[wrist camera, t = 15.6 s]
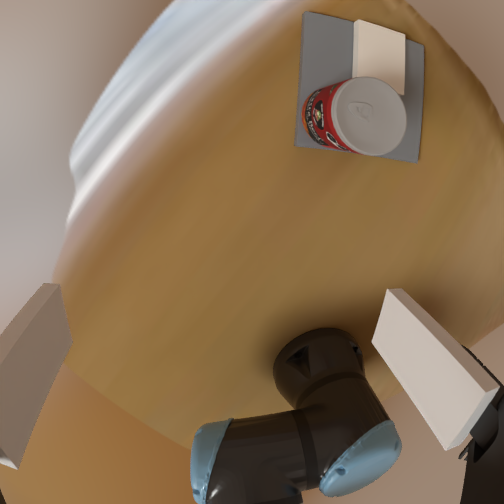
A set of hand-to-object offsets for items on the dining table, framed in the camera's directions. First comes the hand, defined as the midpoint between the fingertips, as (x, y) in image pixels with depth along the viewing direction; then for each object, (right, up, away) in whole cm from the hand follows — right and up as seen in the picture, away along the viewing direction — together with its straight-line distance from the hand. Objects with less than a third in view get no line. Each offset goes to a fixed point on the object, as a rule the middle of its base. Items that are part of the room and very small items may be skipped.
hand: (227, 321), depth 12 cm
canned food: (+10, +19, +24) cm, 32 cm away
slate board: (+16, +24, +24) cm, 37 cm away
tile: (+17, +23, +22) cm, 36 cm away
